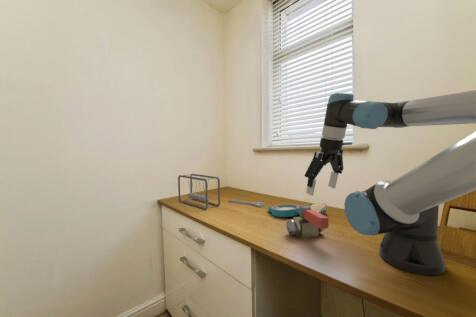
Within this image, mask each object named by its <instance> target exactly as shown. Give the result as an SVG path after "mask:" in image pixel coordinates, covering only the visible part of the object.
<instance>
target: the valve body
mask: <svg viewBox="0 0 476 317" xmlns="http://www.w3.org/2000/svg"><path fill="white" fill-rule="evenodd" d="M285 226H286V230H287V233H288V234H289V235H290V236H296V235H297V236H298V237H299V238H300V239H302V240H305V239H312V238H319V233H323V232H324V231H325V229H326V228H324V229H320V228H319V227H317V226H315V225H314V224H312V223H311V222H309V221H307V220H306V219H303V218H300V216H292V218H289V219H287V221H286V225H285Z"/></svg>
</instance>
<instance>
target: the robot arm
mask: <svg viewBox="0 0 476 317" xmlns="http://www.w3.org/2000/svg"><path fill="white" fill-rule="evenodd" d="M354 97H355V96H354V94H353V93H346V92H344V93H343V92H332V93H331V94H330V95H329V97H328V101H327V103H326V111H325V115H324V116H325V117H324V122H323V127H322V132H321V137H320V142H319V147H320V149H321V150H320V151H315V152H314V153H313V156H312V157H313V158H312V160H311V161H310V164H309V165H308V167H307V169H306V172H305V174H304V177H305V178H307V184H306V189H305V191H306V194H308V195H309V196H312V197H313V196H314V194H315V193H314V192H315V187H316V184H317V179H316V178H317V176H318V175H319V174H320V172H321V170H322V169H324V166H326V165H327V164H330V166H331V168H332V170H331V172H330V176H329V181H328V187H330V188H332V189H336V186H337V183H338V179H339V175H340V174H341V175H342V173H343V171H344V159H343V153H344V150H343V149H342V148H343V145H344V139H345V136H346V131H347V128H348V125H350V126H354V127H358V128H360V129H367V130H375V129H378V128H394V129H395V128H396V129H397V128H398V129H400V128H401V129H402V128H406V127H422V126H423V127H425V126H426V127H427V126H450V125H472V124H473V125H474V124H475V125H476V90H475V89H474V90H468V91H462V92H457V93H448V94H443V95H437V96H429V97H425V98H418V99H413V100H406V101H400V102H384V101H382V102H380V101H372V100H367V101H366V100H355V99H354ZM474 191H476V130H475V131H473V132H472V133H470V134H468V135H467V136H465V137H463V138H462V139H460V140H459V141H457V142H455V143H454V144H452V145H450V146H449V147H447V148H445V149H444V150H442V151H440V152H438V153H437V154H435V155H433V156H432V157H430V158H429V159H427V160H426V161H424V162H422V163H420V164H419V165H417V166H415V167H414V168H412V169H410V170H409V171H407V172H405V173H403V174H402V175H400V176H399V177H397V178H396V179H394V180H392V181H391V180H386V179H385V180H380V181H378V182H377V183H375V184H373V185H372V186H370V187H369V188H367V189H365V190H363V191H359V190H358V191H357V190H356V191H354V192H350V193H349V194H348V195H347V196H346V197H345V200H344V208H343V209H344V214H345V217H346V219H347V222H348V223H349V225H350V226H351V228H353V230H354V231H357V233H358V234H361V235H363V236H377V235H382V234H384V236H383V237H382V239H381V243H380V244H379V247H378V248H379V249H378V250H379V252H378V253H379V256H380V258H381V259H382V260H384V261H385V262H387V264H389V265H391V266H393V267H395V268H398V269H400V270H403V271H406V272H409V273H413V274H417V275H423V276H441V275H443V274H444V273H445V270H446V262H445V259H444V257H443V253H442V251H441V249H440V246H439V243H438V228H439V227H438V226H439V206H440V205H442V204H445V203H446V202H447V203H448V202H450V201H452V200H454V199H457V198H459V197H462V196H465V195H467V194H470V193H472V192H474Z"/></svg>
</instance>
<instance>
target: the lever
mask: <svg viewBox="0 0 476 317" xmlns="http://www.w3.org/2000/svg"><path fill="white" fill-rule="evenodd" d="M299 206H300V214H299V217H300V218H303V219H306V220H307V221H309V222H311V223H312V224H314V225H315V226H317V227H319V228H320V229H324V228H325V229H328V228H329V217H328V216H327V215H322V214H320V213H318V212H316V211H314V210H312V209H311V207H310V206H311V205H309V206H307V205H299ZM325 229H324V230H325Z"/></svg>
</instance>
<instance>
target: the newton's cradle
mask: <svg viewBox="0 0 476 317" xmlns="http://www.w3.org/2000/svg"><path fill="white" fill-rule="evenodd" d="M181 178H185V179H190V181H189V180H187V181H188V183H189V185H188V187H189V190H190V192H188V194H187V197H188V198H189V199H185V200H184V199H183V200H182V199H181ZM213 179H215V180H217V198H218V200H217V202H218V203H213V202H210V198H209V196H208V195H209V194H208V193H209V192H208V191H209V190H208V185H209V184H208V181H209V180H213ZM193 181H194V182H195V185H197V183H198V181H199V182H201V181H202V182H204V184H203V185H202V188H203V189H204V190H203V192H204V193H205V195H203V194H204V193H201V194H200V193H199V192H202V191H201V183H199V184H198V185H199V189H198V187H197V186H195V190H194V188H193V187H194V186H193V184H194V183H193ZM177 183H178V184H177V185H178V186H177V188H178V201H179V202H180V203H182V202H183V204H185V203H186V205H188V204H189V206H191V205H193V207H195V206H196V207H195V208H198V207H199V208H198V209H201V208H202V210H204V209H205V210H208V209H211V208H212V207H220V205H221V180H220V178H219V177H218V176H213V175H206V174H205V175H204V174H197V173H191V174H189V175H188V174H184V175H181V174H180V175H178V177H177ZM204 186H205V187H204ZM197 189H198V190H199V191H197ZM196 192H197V193H196ZM190 200H193V201H197V202H200V201H201V203H205V207H204V206H201V205H197V204H195V203H191V202H188V201H190ZM209 205H211V206H209Z"/></svg>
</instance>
